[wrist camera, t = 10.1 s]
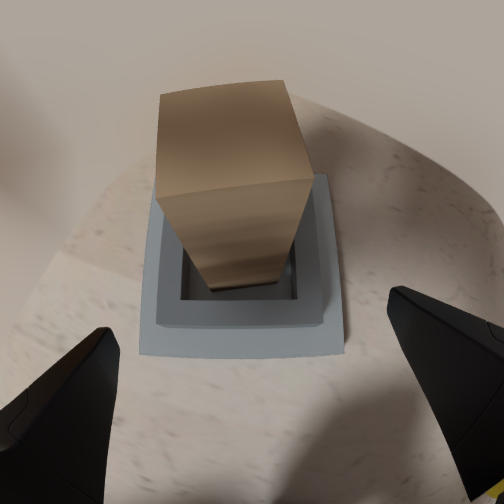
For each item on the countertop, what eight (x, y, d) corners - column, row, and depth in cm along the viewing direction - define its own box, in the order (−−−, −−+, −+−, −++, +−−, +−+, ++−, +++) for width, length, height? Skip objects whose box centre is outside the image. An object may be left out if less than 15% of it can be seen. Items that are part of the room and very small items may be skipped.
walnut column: (277, 283, 21) (314, 178, 8) (211, 292, 20) (155, 198, 8) (267, 223, 22) (283, 80, 10) (205, 231, 22) (160, 94, 9)
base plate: (338, 353, 20) (356, 353, 17) (146, 354, 20) (125, 354, 16) (323, 183, 25) (333, 155, 21) (159, 185, 25) (146, 159, 21)
